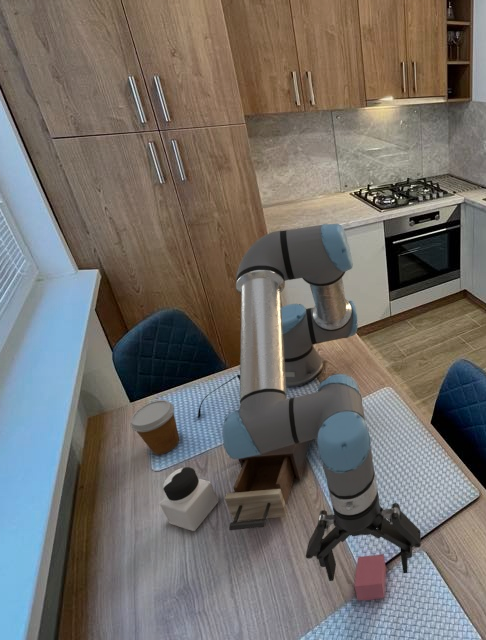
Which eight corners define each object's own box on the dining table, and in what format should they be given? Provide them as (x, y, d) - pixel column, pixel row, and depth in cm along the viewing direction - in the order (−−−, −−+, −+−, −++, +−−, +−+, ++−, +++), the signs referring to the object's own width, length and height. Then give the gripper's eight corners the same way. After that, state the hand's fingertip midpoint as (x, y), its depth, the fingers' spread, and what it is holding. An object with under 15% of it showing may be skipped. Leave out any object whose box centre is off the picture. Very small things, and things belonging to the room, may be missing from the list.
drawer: (279, 539, 86) (271, 516, 82) (224, 545, 85) (214, 522, 82) (301, 462, 102) (295, 440, 99) (255, 466, 101) (247, 444, 98)
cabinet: (300, 480, 99) (292, 453, 95) (247, 485, 98) (237, 458, 94) (313, 431, 112) (307, 406, 108) (267, 435, 111) (259, 409, 107)
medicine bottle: (219, 501, 94) (204, 466, 89) (194, 532, 88) (177, 497, 83) (195, 494, 96) (179, 459, 91) (169, 523, 90) (150, 488, 85)
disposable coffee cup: (182, 452, 107) (168, 419, 102) (140, 465, 104) (123, 432, 99) (189, 425, 115) (175, 394, 110) (150, 436, 112) (134, 404, 107)
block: (360, 571, 81) (357, 556, 78) (386, 568, 81) (383, 554, 79) (357, 601, 76) (354, 586, 74) (384, 598, 76) (381, 583, 74)
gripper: (270, 525, 63) (296, 599, 72) (430, 510, 64) (436, 584, 73) (284, 481, 70) (306, 553, 79) (429, 468, 71) (434, 541, 80)
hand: (369, 569), depth 76 cm, fingers open, 13 cm apart
